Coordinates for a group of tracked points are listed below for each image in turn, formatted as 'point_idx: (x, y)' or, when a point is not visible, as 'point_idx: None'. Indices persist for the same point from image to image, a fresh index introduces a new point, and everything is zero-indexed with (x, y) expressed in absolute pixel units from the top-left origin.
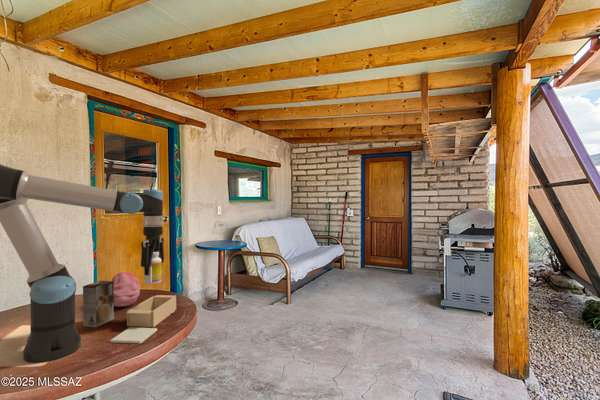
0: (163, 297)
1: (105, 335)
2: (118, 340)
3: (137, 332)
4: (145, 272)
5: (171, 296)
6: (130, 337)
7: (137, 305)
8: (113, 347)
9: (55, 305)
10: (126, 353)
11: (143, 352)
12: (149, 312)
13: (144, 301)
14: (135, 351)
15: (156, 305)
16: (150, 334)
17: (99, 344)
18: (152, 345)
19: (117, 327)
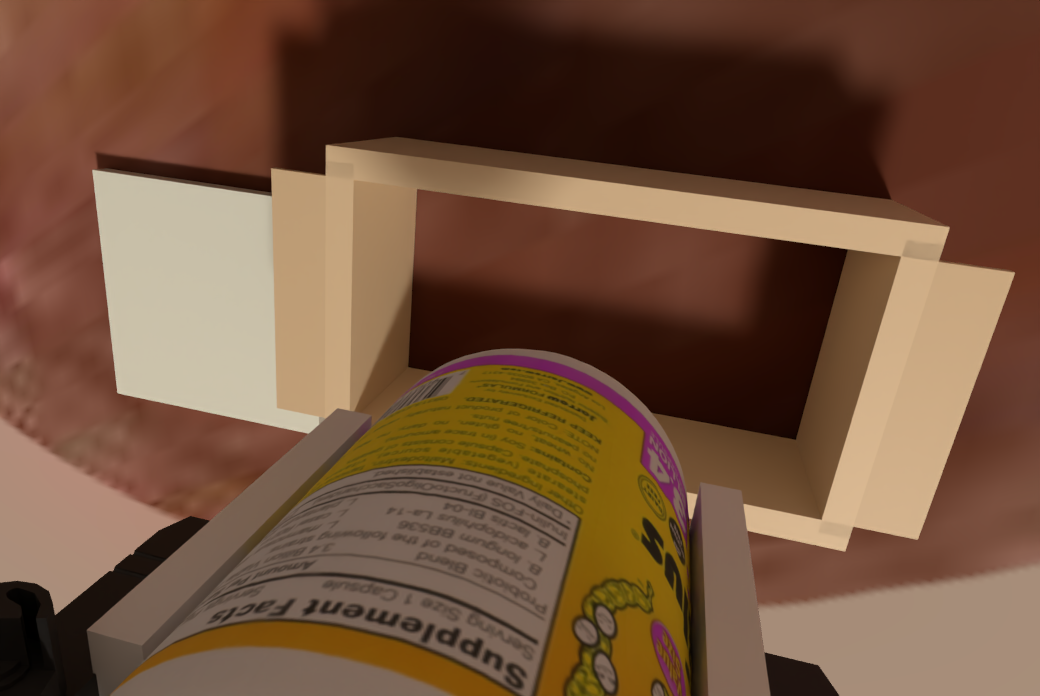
0: (855, 399)
1: (202, 46)
2: (100, 235)
3: (235, 316)
4: (132, 578)
5: (881, 492)
6: (152, 302)
7: (517, 182)
8: (51, 234)
9: None
10: (10, 354)
11: (41, 444)
12: (303, 408)
13: (685, 204)
14: (40, 396)
15: (858, 271)
16: (237, 413)
17: (65, 101)
18: (121, 466)
19: (365, 55)
